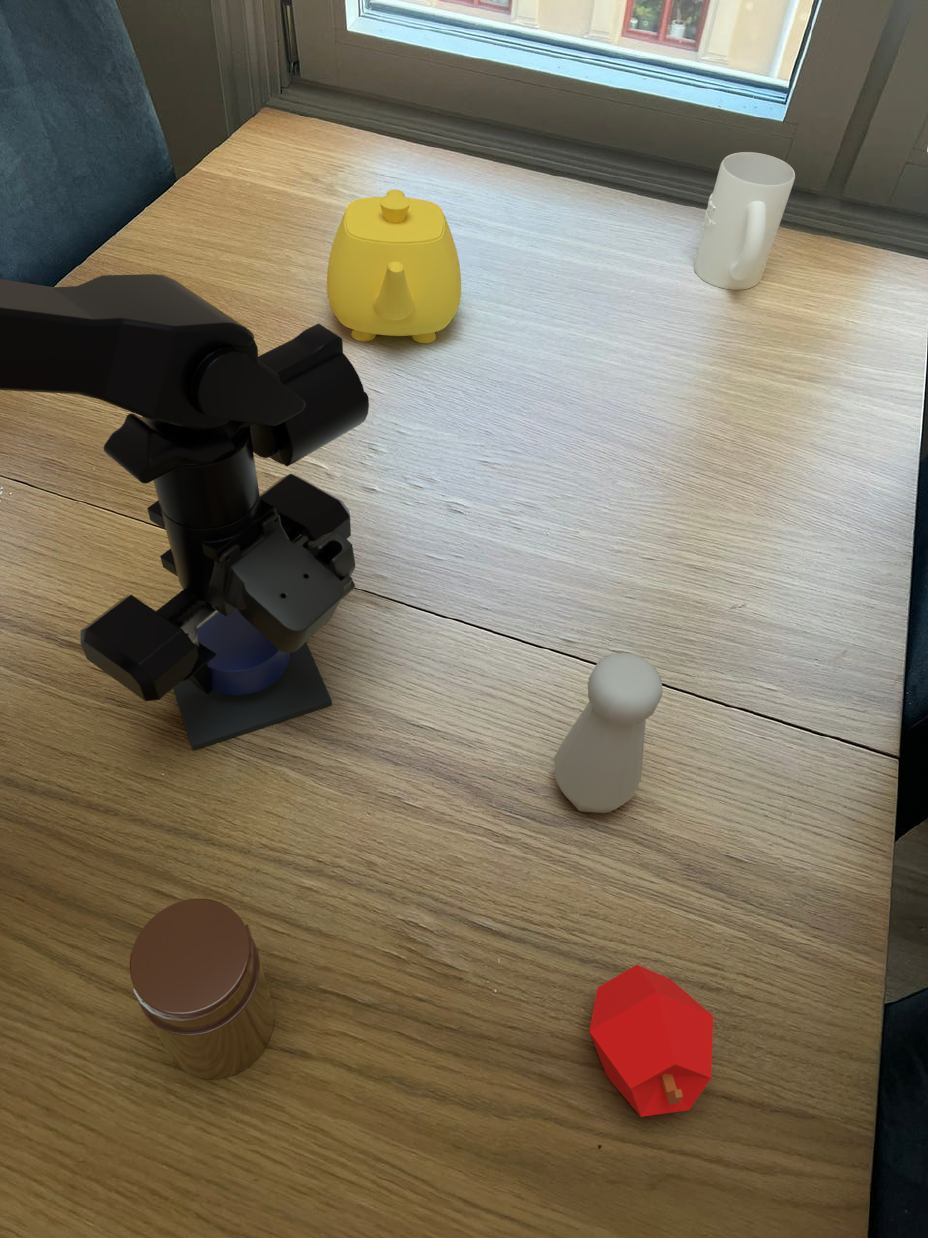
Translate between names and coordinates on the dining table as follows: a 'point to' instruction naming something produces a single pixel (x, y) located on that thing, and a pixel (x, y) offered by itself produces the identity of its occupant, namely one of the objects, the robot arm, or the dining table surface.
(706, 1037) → the apple
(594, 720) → the salt shaker
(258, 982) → the jam jar
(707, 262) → the mug
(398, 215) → the teapot
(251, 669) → the jar lid
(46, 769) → the dining table surface
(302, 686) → the mat
